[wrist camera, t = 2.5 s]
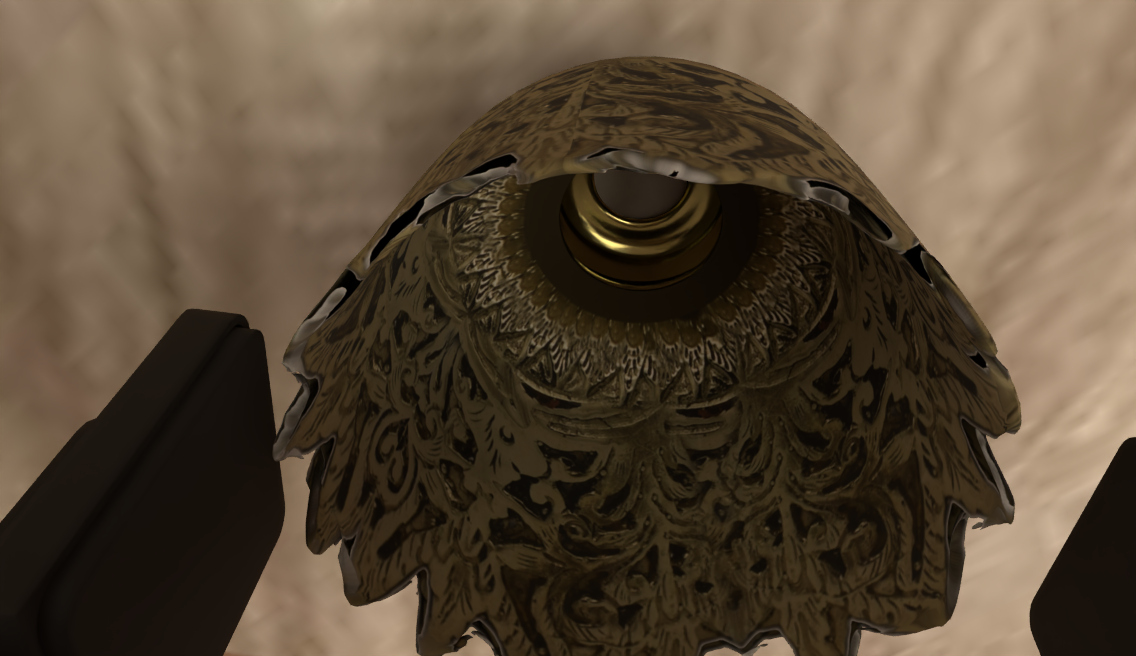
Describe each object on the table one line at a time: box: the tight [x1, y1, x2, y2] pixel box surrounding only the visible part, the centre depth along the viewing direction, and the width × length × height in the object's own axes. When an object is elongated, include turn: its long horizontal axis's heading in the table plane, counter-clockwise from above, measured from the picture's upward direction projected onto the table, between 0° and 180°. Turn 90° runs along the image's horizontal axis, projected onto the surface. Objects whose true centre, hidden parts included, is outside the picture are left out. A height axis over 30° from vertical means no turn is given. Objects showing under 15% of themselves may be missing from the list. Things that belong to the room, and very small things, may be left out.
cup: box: [272, 57, 1021, 656], centre depth 12 cm, size 8×7×8 cm
